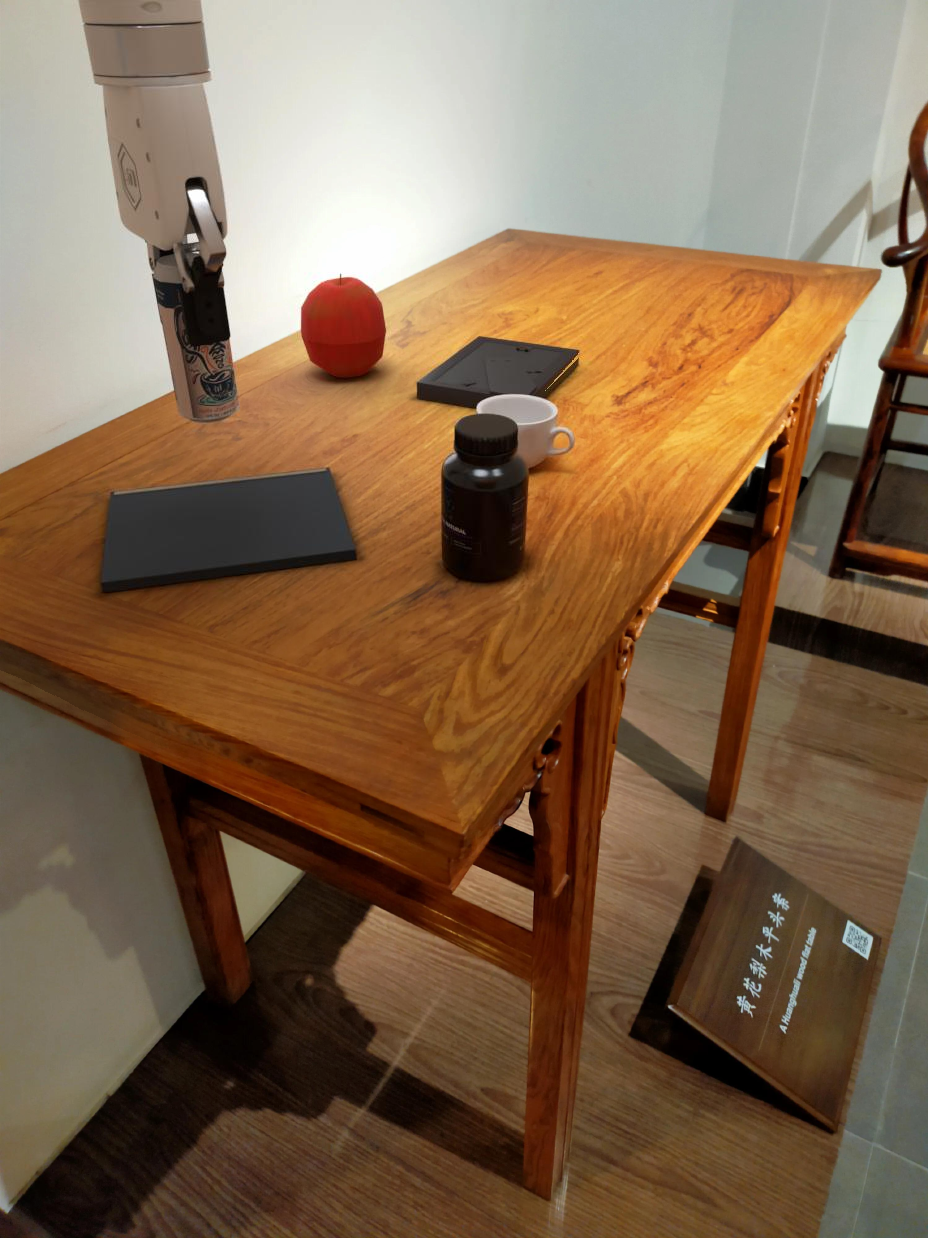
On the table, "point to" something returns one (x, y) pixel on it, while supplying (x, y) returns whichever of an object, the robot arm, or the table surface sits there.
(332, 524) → the dark grey flat slab
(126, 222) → the robot arm
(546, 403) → the teacup
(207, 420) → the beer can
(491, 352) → the picture frame
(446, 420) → the table surface
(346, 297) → the apple
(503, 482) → the supplement bottle
